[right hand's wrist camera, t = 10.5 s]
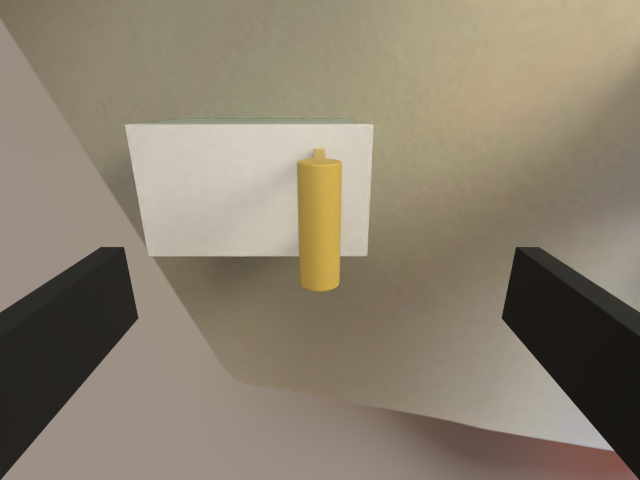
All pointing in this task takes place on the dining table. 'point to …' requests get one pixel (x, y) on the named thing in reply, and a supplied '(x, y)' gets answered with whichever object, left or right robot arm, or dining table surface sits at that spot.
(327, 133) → the lid
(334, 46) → the dining table surface
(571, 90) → the dining table surface
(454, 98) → the dining table surface
